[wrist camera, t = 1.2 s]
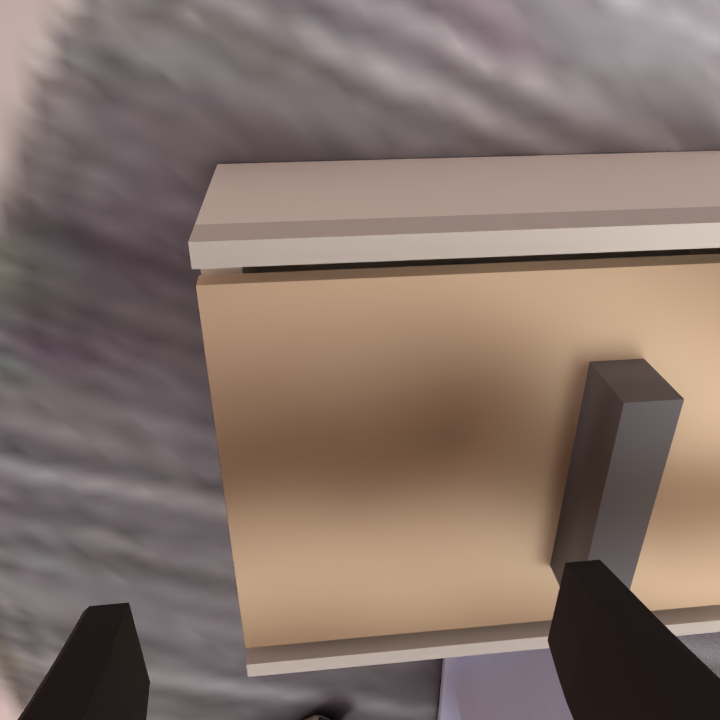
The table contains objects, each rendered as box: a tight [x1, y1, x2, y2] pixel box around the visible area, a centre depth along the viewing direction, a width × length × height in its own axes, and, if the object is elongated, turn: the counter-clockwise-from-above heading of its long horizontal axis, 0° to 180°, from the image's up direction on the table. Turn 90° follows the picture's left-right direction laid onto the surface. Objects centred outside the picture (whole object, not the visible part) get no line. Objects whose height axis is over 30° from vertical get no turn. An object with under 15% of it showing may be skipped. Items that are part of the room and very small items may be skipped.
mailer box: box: [188, 151, 720, 677], centre depth 18 cm, size 12×14×6 cm
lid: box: [196, 254, 720, 648], centre depth 15 cm, size 10×14×2 cm
